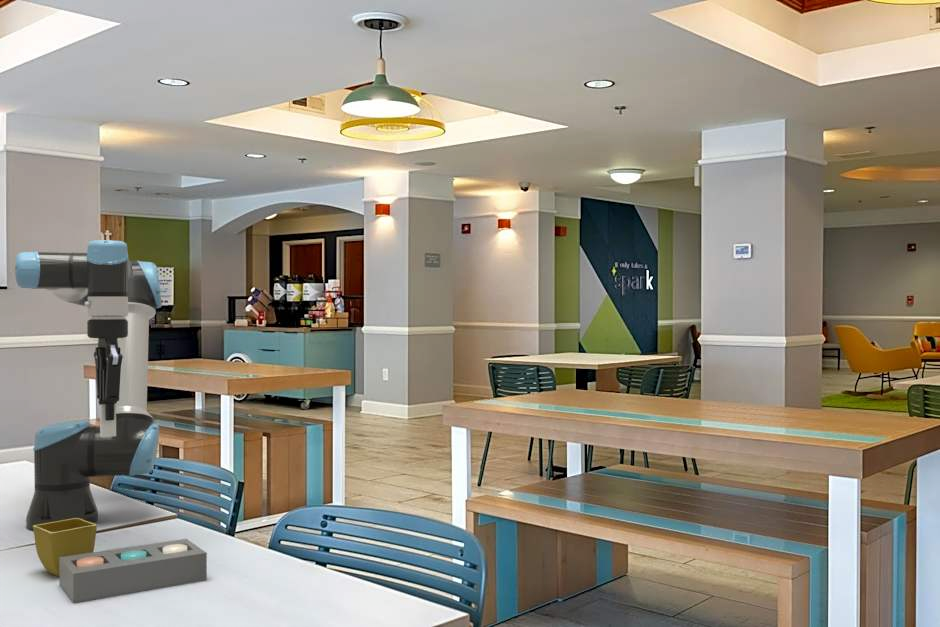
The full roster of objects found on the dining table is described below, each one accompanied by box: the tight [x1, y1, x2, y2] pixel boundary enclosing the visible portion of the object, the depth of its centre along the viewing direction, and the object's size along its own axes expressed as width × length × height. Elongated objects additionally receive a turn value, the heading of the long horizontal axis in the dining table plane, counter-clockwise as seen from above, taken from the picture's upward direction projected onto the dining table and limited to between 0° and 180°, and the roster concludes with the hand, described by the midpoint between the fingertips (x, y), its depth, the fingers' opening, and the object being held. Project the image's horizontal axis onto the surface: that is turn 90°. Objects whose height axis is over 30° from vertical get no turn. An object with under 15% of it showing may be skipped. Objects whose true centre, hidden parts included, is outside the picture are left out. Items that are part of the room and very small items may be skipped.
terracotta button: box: [77, 557, 104, 568], centre depth 162 cm, size 4×4×3 cm
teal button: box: [121, 550, 146, 561], centre depth 166 cm, size 4×4×3 cm
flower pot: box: [32, 518, 98, 577], centre depth 173 cm, size 9×9×9 cm
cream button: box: [163, 544, 187, 554], centre depth 170 cm, size 4×4×3 cm
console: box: [58, 538, 208, 604], centre depth 166 cm, size 12×23×5 cm, turn 125°
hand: (108, 436), depth 182 cm, fingers closed
